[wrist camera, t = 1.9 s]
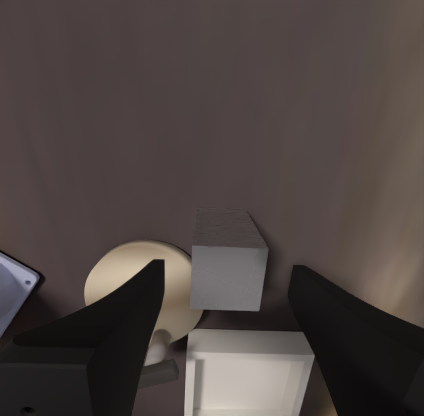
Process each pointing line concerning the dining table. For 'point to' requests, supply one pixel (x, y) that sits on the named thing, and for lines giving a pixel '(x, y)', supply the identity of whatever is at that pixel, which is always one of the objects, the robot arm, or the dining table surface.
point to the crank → (171, 306)
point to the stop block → (227, 261)
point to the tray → (246, 372)
